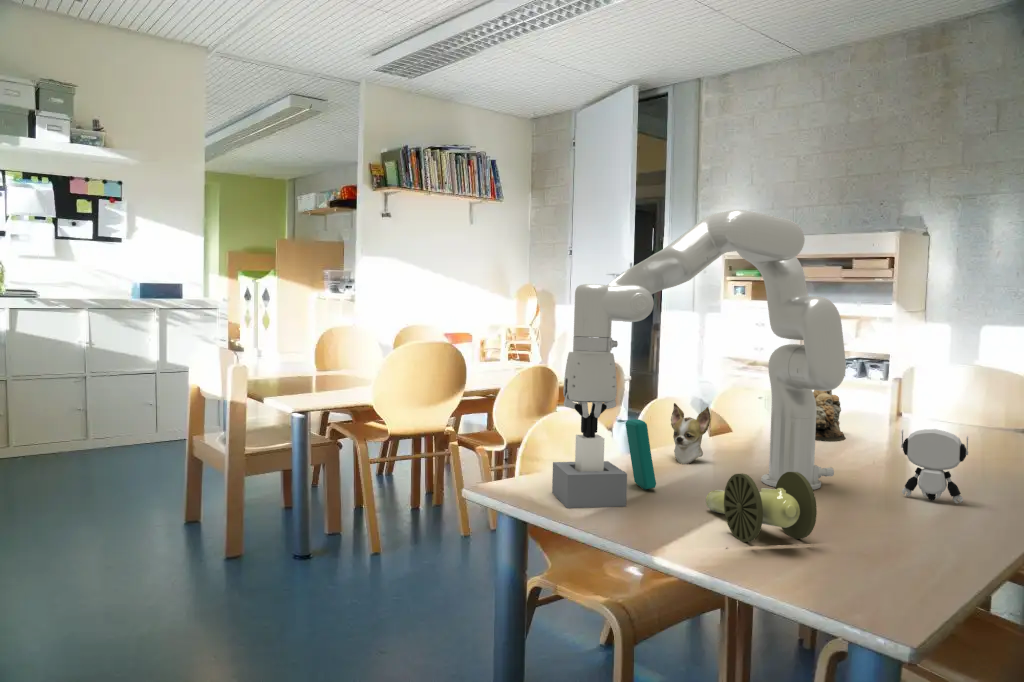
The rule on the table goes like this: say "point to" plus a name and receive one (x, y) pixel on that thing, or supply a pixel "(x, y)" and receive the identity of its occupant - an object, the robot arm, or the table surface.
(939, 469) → the robot toy
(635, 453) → the digital multimeter
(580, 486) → the socket
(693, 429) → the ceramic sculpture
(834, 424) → the brown rough lump
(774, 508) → the cannon
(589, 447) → the plug
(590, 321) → the robot arm
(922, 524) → the table surface
